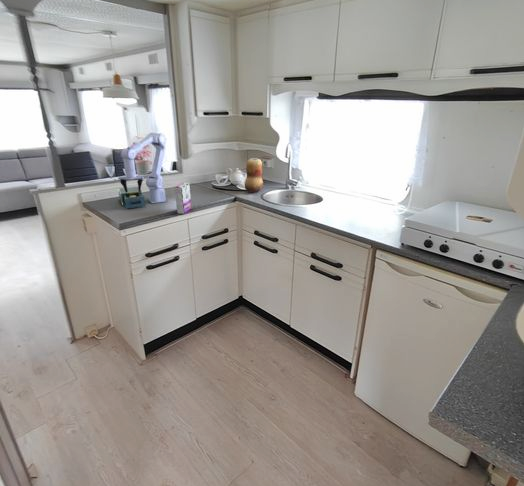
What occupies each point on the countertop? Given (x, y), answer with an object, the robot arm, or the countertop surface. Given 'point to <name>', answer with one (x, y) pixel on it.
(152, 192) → the robot arm
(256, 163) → the butternut squash
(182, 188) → the candy bar box
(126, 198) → the drawer
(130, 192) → the cabinet
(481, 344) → the countertop surface
